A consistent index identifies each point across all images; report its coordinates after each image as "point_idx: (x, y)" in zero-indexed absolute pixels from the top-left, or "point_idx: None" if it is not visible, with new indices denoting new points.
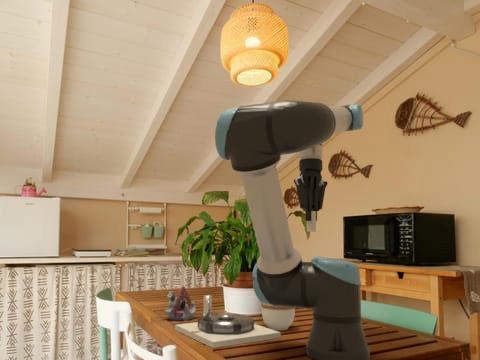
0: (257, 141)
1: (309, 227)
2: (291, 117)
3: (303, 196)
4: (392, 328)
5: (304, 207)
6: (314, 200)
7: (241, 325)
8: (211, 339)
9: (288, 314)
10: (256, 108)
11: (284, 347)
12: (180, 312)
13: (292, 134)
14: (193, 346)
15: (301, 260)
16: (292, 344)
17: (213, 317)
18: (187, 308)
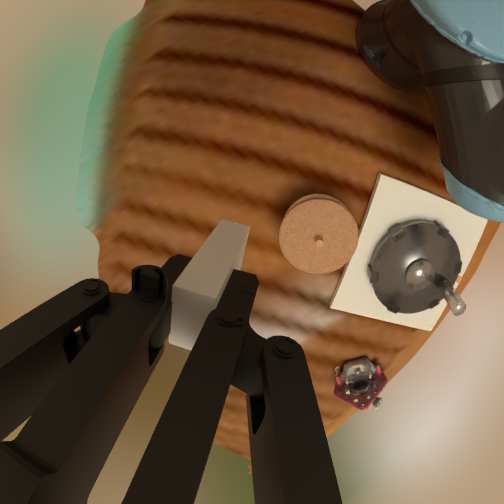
0: None
1: (239, 262)
2: None
3: (325, 454)
4: (144, 70)
5: (296, 356)
6: (124, 373)
7: (436, 225)
8: (479, 231)
9: (329, 196)
10: None
11: (425, 133)
12: (380, 368)
13: None
14: (487, 243)
15: None
16: (401, 131)
17: (419, 294)
18: (370, 370)
